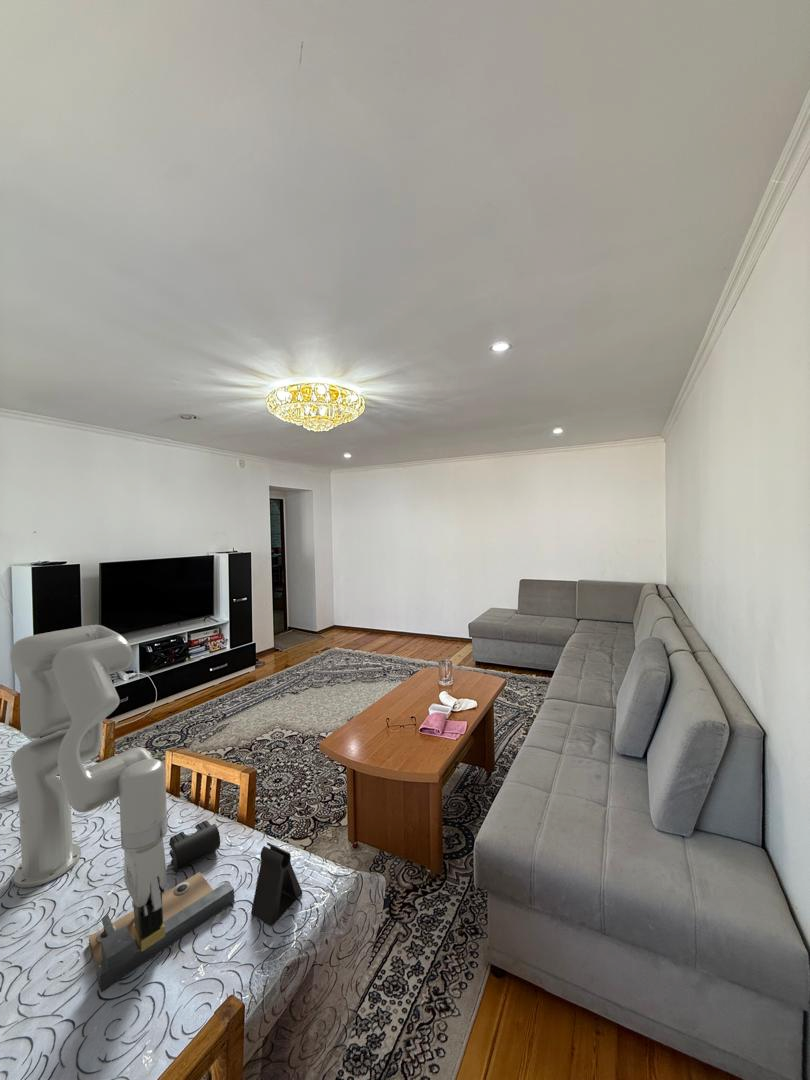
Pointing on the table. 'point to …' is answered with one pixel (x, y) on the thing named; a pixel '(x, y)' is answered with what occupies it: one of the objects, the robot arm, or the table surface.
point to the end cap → (194, 845)
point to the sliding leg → (137, 927)
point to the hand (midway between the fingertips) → (148, 923)
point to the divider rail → (127, 956)
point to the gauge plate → (171, 905)
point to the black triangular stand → (275, 885)
